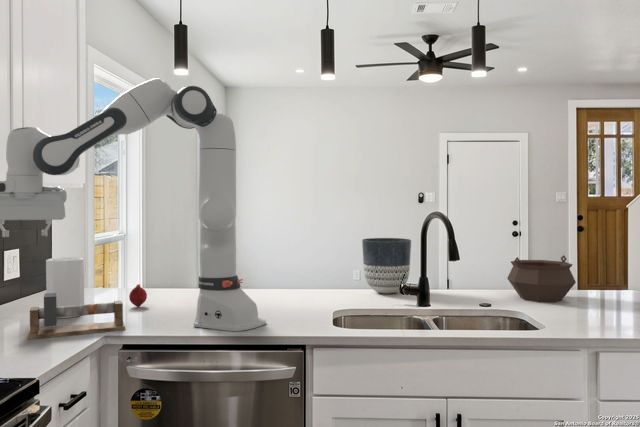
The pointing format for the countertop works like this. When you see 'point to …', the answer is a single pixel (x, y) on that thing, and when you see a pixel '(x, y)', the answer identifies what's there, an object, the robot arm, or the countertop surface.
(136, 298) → the onion
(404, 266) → the planter
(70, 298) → the cup
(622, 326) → the countertop surface
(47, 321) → the collar
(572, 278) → the brown cauldron
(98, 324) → the pipe rack
